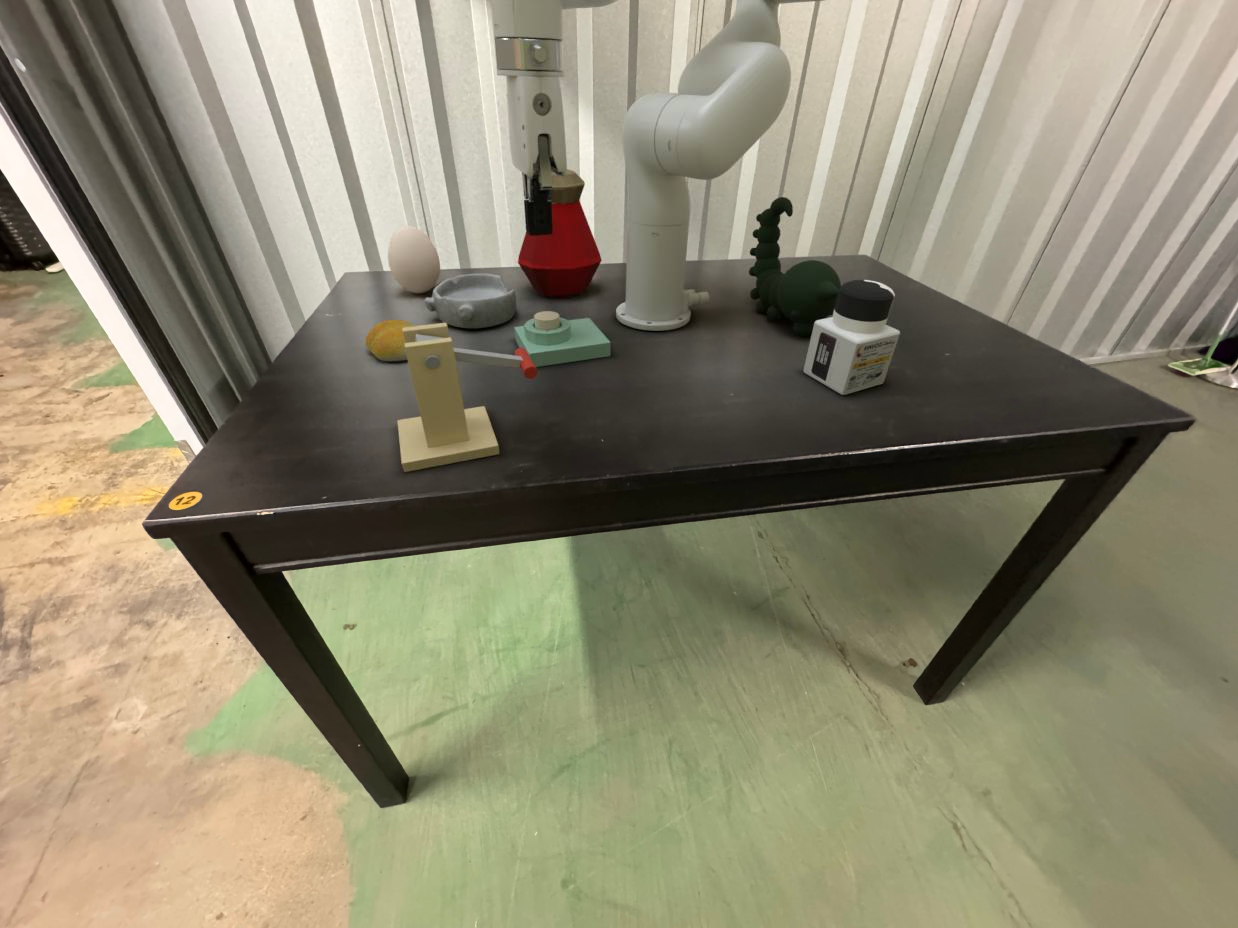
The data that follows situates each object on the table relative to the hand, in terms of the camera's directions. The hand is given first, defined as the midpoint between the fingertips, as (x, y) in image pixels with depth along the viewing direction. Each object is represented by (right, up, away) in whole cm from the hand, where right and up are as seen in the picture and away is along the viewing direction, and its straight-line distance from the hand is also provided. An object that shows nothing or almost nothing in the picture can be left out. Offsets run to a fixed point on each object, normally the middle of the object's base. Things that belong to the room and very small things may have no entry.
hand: (539, 233), depth 72 cm
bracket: (-9, -28, -10) cm, 31 cm away
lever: (-5, -20, -14) cm, 25 cm away
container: (+41, -19, +4) cm, 46 cm away
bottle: (0, +2, +32) cm, 32 cm away
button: (0, -10, +8) cm, 13 cm away
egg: (-26, +1, +29) cm, 39 cm away
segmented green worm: (+39, -6, +21) cm, 45 cm away
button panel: (+2, -13, +11) cm, 17 cm away
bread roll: (-22, -14, +9) cm, 28 cm away
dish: (-14, -6, +21) cm, 25 cm away
